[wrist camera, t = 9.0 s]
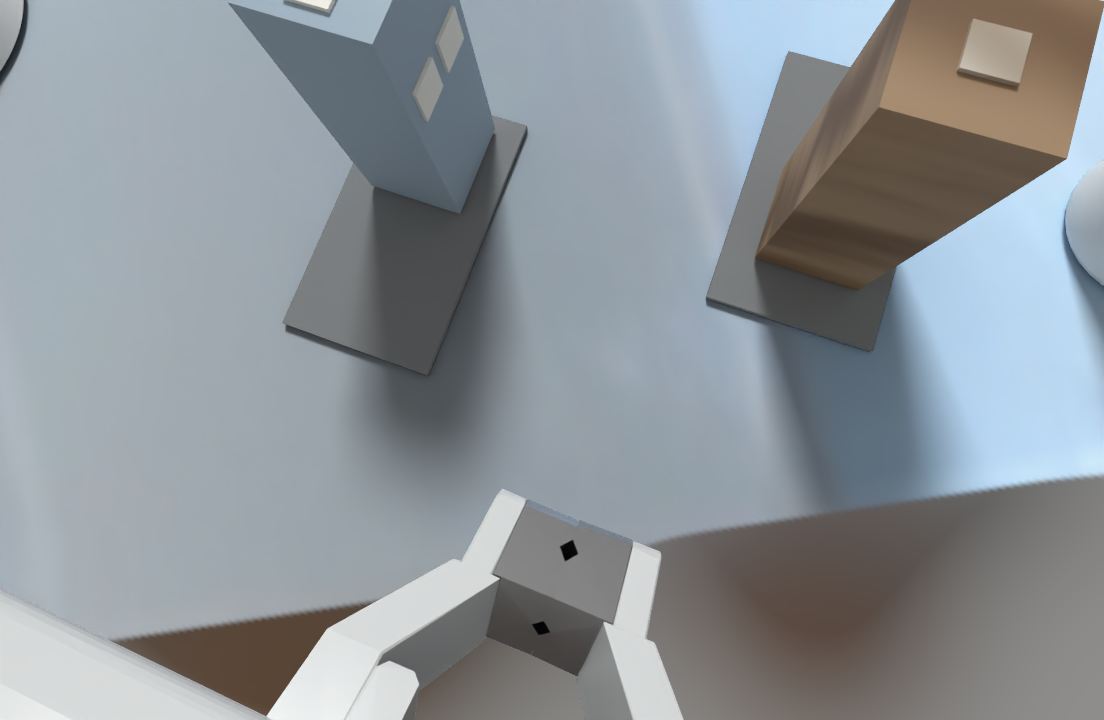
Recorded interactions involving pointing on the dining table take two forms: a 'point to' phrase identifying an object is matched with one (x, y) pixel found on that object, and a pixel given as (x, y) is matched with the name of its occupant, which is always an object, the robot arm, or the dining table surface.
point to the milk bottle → (1088, 221)
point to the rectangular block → (386, 86)
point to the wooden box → (930, 132)
